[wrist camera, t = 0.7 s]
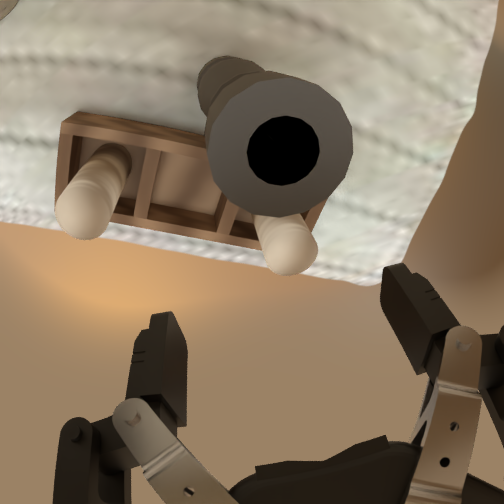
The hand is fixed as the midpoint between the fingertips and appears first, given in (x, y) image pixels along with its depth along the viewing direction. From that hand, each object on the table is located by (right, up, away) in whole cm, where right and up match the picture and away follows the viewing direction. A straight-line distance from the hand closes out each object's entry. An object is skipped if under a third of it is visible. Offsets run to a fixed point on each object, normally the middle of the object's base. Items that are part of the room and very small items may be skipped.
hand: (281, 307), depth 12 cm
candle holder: (-4, +20, +20) cm, 29 cm away
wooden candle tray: (-8, +11, +26) cm, 29 cm away
